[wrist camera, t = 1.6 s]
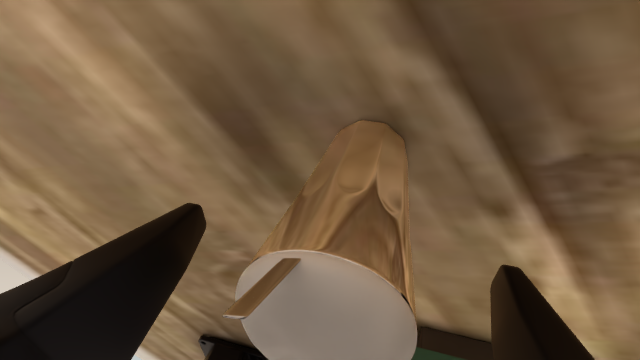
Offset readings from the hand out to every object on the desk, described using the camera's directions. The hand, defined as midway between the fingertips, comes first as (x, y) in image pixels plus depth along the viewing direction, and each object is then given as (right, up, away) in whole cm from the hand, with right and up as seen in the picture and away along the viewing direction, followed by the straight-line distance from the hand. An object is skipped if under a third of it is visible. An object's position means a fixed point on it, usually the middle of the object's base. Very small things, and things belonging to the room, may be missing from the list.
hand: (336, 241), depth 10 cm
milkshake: (+2, +3, +4) cm, 6 cm away
